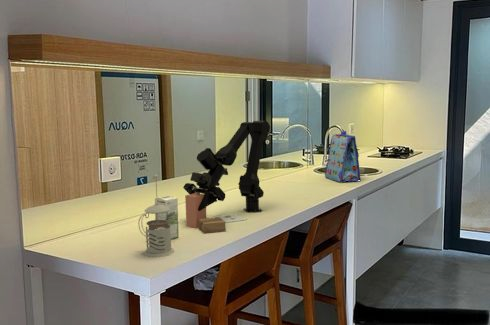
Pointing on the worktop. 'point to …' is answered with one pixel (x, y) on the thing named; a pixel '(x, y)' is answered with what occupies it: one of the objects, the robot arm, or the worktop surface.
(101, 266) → the worktop surface
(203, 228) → the base brick
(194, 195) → the tall brick
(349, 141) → the lunch bag
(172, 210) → the syrup box
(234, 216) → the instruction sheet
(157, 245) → the french press
